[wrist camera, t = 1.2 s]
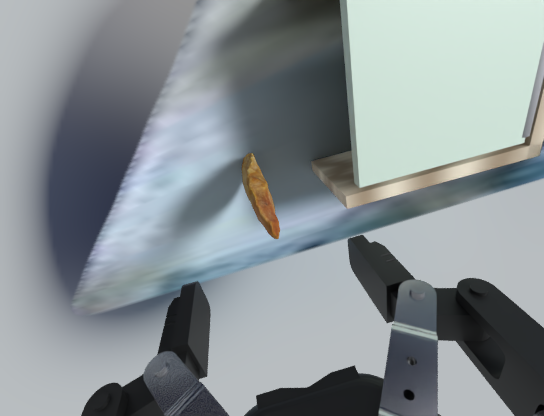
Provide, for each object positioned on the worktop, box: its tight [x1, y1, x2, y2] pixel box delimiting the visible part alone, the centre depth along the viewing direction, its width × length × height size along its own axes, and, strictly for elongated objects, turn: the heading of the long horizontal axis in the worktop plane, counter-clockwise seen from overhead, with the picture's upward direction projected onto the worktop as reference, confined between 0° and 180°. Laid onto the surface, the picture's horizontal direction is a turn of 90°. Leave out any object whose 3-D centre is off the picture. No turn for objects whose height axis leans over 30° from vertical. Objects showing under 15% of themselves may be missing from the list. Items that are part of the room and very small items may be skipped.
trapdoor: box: [340, 0, 544, 188], centre depth 18 cm, size 15×14×1 cm
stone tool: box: [242, 153, 280, 239], centre depth 23 cm, size 5×2×15 cm, turn 14°
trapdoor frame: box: [311, 78, 544, 209], centre depth 23 cm, size 17×18×10 cm
